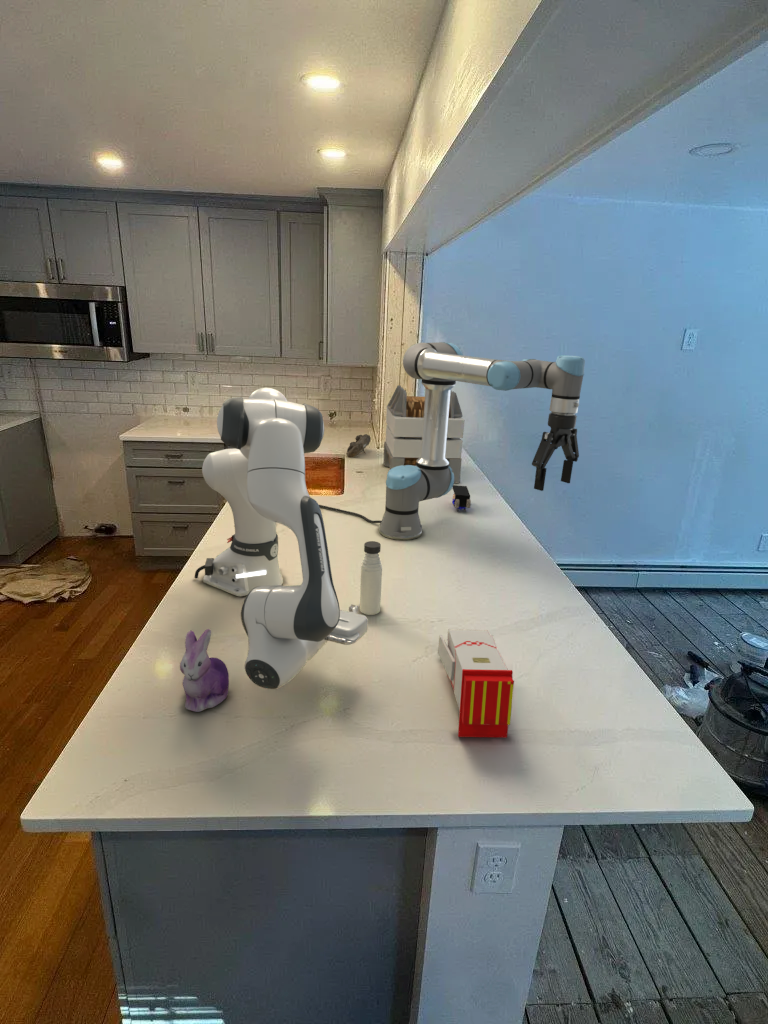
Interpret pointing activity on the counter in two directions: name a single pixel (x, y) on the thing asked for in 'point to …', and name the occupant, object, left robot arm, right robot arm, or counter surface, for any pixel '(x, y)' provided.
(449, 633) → the toy
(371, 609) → the bottle
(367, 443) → the fossil
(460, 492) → the figurine character
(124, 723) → the counter surface
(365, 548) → the cap
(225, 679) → the figurine
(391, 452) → the gray slatted crate
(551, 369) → the right robot arm
